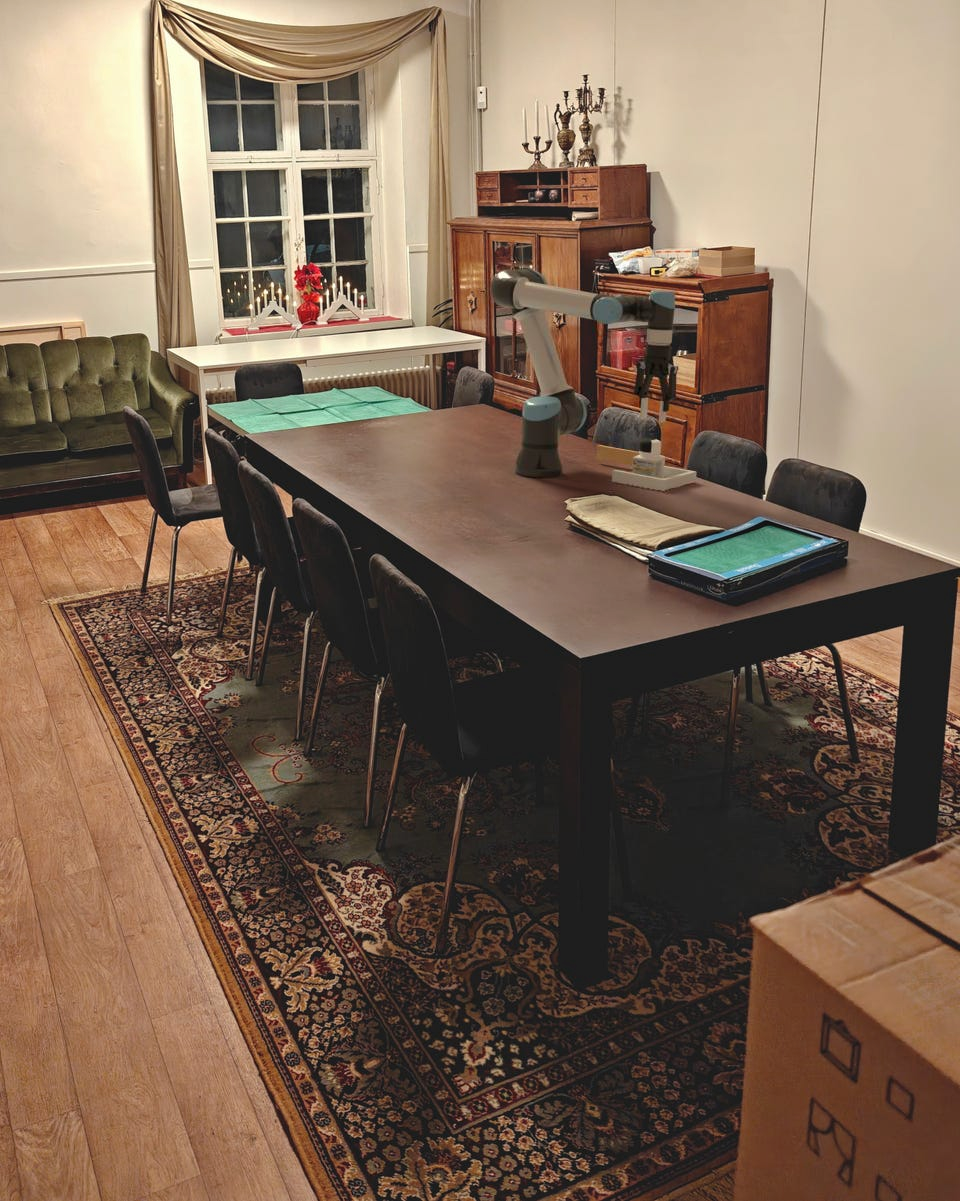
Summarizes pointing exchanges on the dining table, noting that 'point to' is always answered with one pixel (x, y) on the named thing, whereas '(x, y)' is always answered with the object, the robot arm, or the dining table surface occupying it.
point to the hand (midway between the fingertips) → (652, 420)
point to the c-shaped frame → (653, 481)
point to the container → (649, 459)
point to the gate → (616, 454)
